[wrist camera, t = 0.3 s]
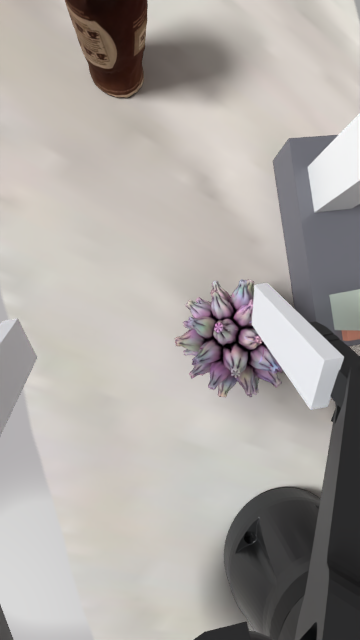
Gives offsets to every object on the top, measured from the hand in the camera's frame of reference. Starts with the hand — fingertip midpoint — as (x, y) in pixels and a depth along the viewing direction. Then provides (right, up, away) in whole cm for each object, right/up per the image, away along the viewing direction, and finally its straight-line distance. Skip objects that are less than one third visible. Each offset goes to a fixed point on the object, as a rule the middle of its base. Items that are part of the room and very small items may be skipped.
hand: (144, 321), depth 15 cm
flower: (+7, -2, +17) cm, 19 cm away
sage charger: (+21, +1, +15) cm, 26 cm away
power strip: (+20, +4, +19) cm, 28 cm away
